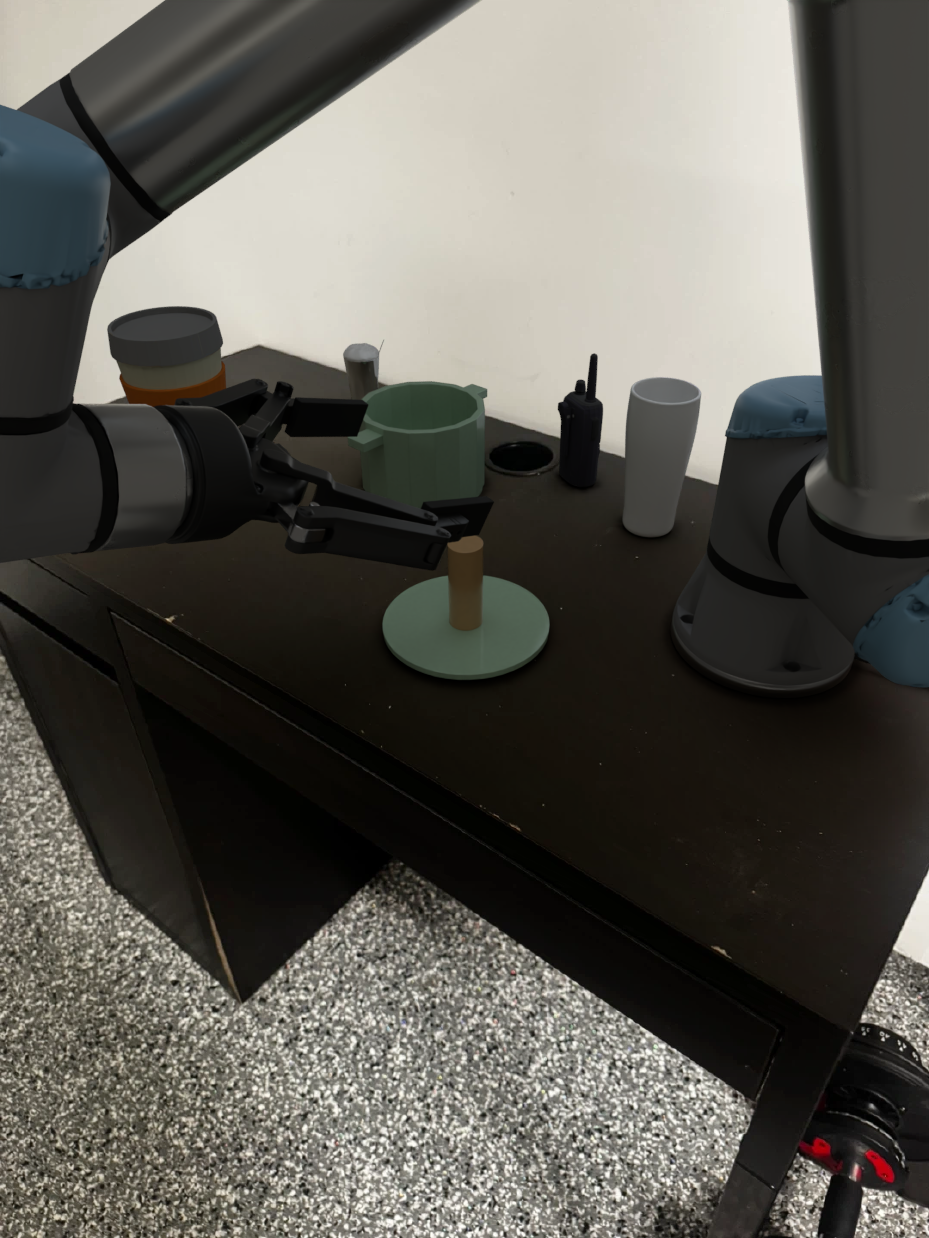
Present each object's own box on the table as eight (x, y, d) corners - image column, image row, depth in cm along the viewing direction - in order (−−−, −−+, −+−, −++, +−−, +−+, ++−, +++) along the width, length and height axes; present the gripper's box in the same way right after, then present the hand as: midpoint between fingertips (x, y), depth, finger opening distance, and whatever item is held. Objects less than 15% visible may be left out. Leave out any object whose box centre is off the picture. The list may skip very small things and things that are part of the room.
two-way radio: (602, 487, 100) (614, 356, 91) (567, 495, 98) (576, 363, 89) (577, 466, 104) (586, 340, 95) (543, 474, 102) (550, 346, 93)
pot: (523, 474, 102) (526, 396, 97) (406, 538, 91) (401, 454, 86) (438, 440, 110) (436, 365, 104) (320, 495, 99) (311, 415, 93)
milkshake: (383, 422, 114) (378, 346, 108) (344, 419, 115) (336, 343, 109) (393, 408, 118) (388, 333, 112) (354, 405, 118) (348, 331, 112)
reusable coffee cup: (154, 422, 115) (127, 305, 106) (250, 423, 114) (231, 305, 105) (120, 467, 105) (86, 341, 96) (225, 468, 104) (201, 342, 95)
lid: (582, 627, 79) (590, 539, 73) (471, 711, 70) (471, 618, 65) (461, 566, 87) (460, 483, 81) (348, 635, 78) (339, 546, 73)
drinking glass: (686, 543, 90) (709, 404, 81) (619, 544, 90) (635, 404, 81) (673, 510, 96) (694, 376, 87) (610, 510, 96) (624, 376, 87)
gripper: (38, 424, 55) (300, 425, 71) (270, 671, 44) (518, 607, 60) (57, 308, 52) (329, 337, 68) (314, 546, 41) (566, 514, 57)
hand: (418, 464), depth 64 cm, fingers open, 13 cm apart
